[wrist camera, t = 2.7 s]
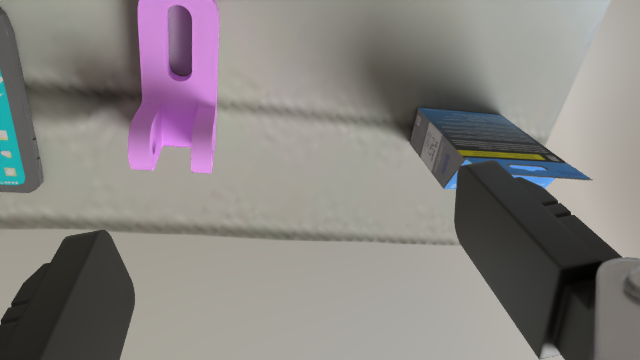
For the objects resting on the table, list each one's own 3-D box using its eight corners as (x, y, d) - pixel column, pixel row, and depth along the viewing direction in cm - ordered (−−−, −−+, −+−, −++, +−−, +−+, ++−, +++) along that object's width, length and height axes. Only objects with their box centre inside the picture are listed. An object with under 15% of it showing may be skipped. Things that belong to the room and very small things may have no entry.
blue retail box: (406, 144, 41) (462, 220, 30) (417, 105, 39) (480, 172, 29) (491, 150, 43) (571, 224, 32) (505, 113, 41) (595, 179, 30)
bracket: (215, 141, 38) (210, 182, 32) (148, 137, 37) (129, 178, 31) (220, -20, 32) (215, -7, 26) (139, -32, 30) (114, -20, 25)
